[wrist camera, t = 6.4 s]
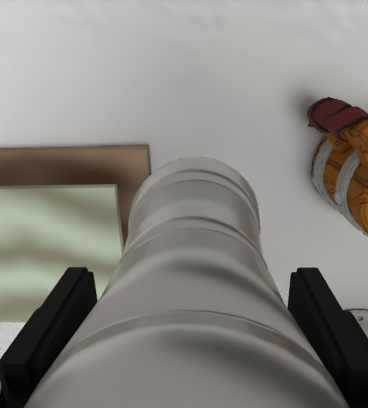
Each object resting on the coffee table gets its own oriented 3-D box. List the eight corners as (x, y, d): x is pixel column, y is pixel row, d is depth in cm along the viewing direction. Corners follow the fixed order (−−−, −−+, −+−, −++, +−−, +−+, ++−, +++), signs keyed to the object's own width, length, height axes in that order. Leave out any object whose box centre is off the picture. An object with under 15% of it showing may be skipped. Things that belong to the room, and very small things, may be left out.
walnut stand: (158, 285, 48) (148, 337, 39) (21, 285, 49) (-21, 335, 40) (148, 145, 41) (133, 166, 31) (-12, 148, 42) (-73, 170, 32)
